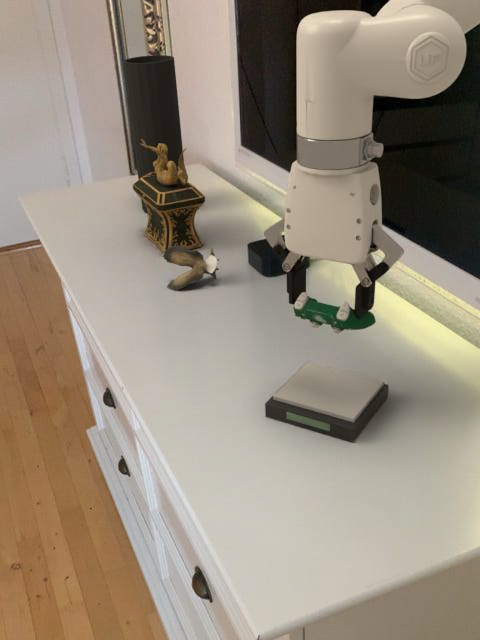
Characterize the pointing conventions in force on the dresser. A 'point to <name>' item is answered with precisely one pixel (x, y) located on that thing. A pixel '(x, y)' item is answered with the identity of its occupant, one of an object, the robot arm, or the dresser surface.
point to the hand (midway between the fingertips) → (329, 305)
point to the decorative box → (169, 202)
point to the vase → (153, 109)
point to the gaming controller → (331, 314)
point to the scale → (328, 401)
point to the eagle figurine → (190, 265)
